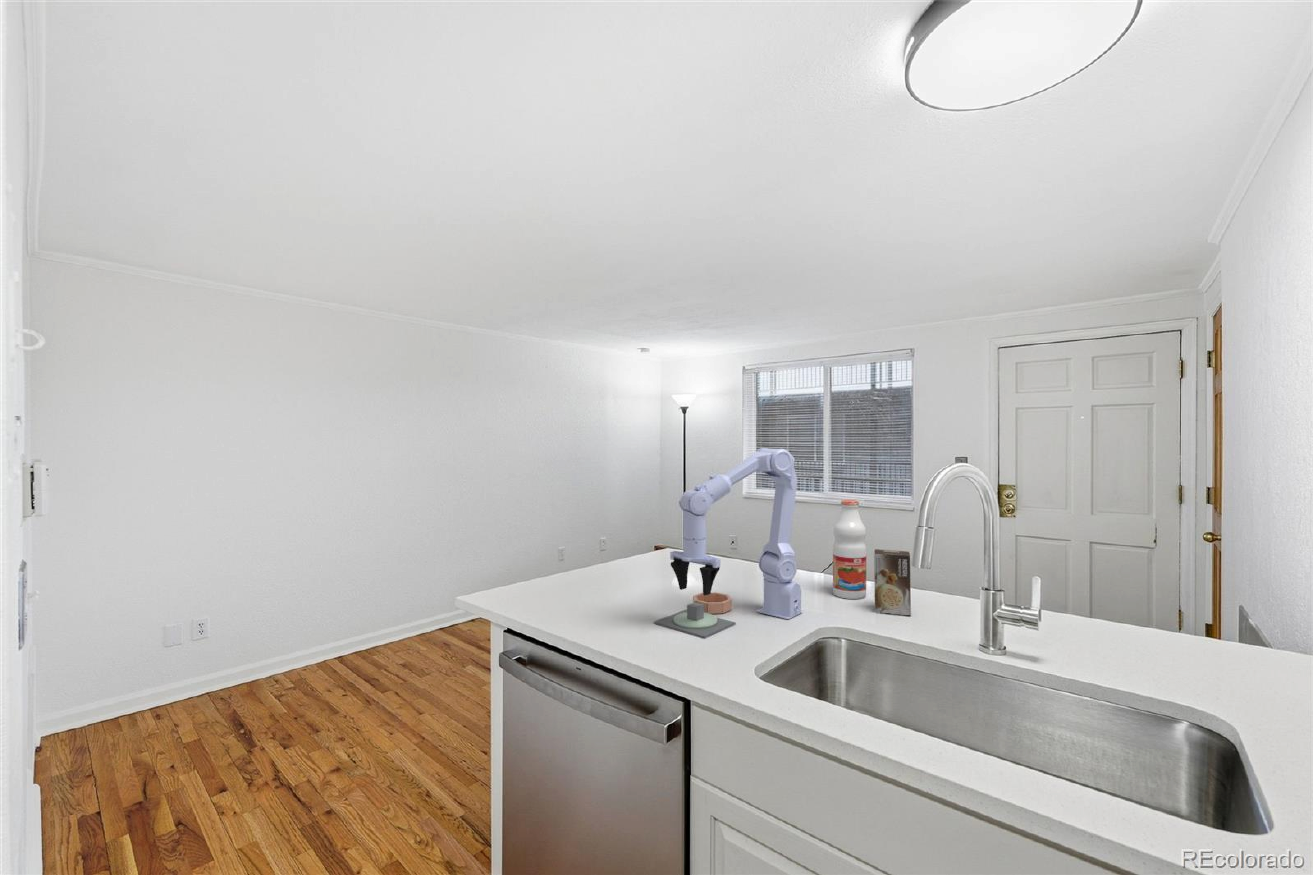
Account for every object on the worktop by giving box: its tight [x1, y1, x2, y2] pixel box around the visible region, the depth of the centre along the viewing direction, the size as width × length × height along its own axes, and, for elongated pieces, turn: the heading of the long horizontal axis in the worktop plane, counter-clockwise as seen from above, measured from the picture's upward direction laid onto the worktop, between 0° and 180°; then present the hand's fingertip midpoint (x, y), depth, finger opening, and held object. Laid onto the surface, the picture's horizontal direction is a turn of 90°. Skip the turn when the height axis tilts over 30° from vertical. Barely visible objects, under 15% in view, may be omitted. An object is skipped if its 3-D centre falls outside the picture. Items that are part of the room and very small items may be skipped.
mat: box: [653, 609, 736, 639], centre depth 149 cm, size 16×13×1 cm
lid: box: [674, 602, 718, 629], centre depth 149 cm, size 11×11×4 cm
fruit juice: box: [832, 499, 867, 600], centre depth 174 cm, size 9×9×28 cm
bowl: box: [692, 591, 733, 615], centre depth 162 cm, size 10×10×3 cm
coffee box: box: [873, 548, 912, 616], centre depth 159 cm, size 9×6×16 cm
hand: (694, 591), depth 149 cm, fingers open, 7 cm apart
